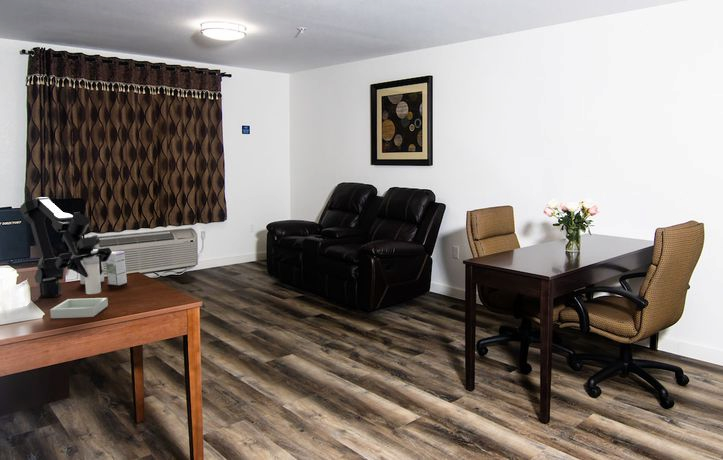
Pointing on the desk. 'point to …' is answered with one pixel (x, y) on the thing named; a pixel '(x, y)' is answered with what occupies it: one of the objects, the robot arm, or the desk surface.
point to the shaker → (92, 275)
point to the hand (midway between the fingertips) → (94, 275)
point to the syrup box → (116, 268)
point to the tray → (79, 308)
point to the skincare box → (100, 275)
